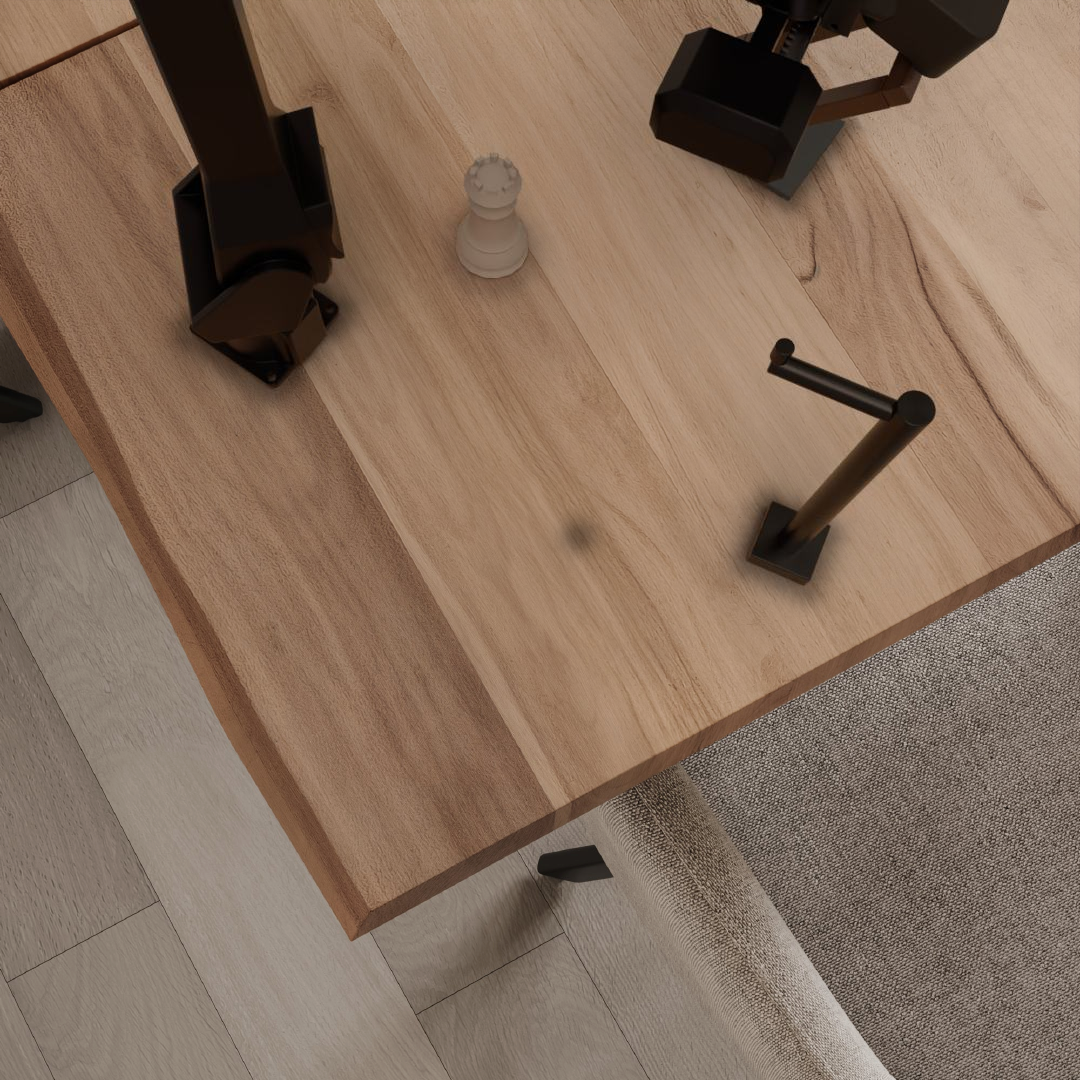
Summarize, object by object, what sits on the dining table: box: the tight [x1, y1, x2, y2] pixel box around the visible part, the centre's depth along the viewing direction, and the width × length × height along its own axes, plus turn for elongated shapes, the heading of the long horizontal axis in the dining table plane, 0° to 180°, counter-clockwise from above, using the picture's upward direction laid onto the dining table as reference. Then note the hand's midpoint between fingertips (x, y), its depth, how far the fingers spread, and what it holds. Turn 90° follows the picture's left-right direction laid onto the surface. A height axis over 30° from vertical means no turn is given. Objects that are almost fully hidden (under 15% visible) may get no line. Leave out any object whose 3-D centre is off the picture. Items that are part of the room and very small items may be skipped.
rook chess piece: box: [455, 151, 529, 279], centre depth 64 cm, size 4×4×8 cm
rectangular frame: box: [736, 13, 923, 127], centre depth 51 cm, size 1×7×13 cm
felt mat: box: [753, 119, 846, 201], centre depth 71 cm, size 7×7×1 cm
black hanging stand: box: [746, 337, 937, 586], centre depth 53 cm, size 8×4×20 cm, turn 66°
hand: (751, 107), depth 56 cm, fingers closed on rectangular frame, 7 cm apart
